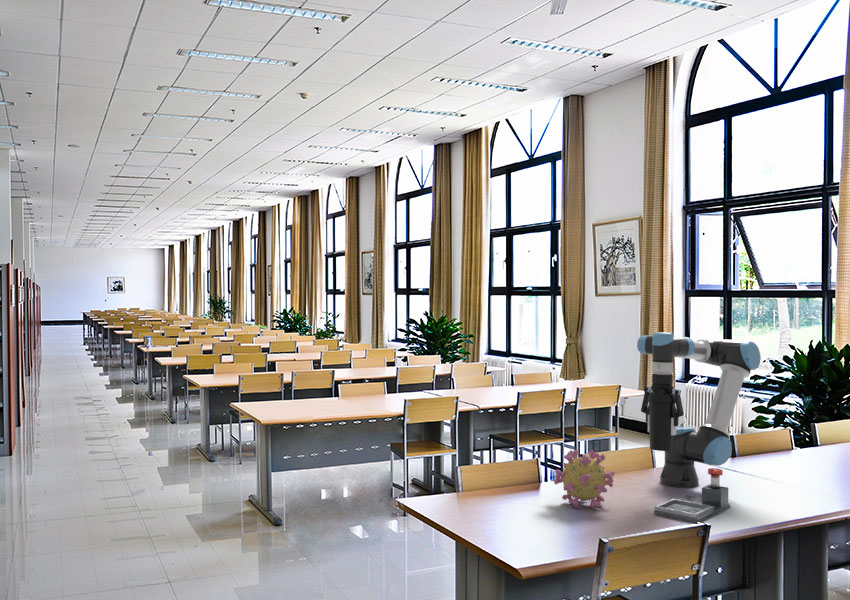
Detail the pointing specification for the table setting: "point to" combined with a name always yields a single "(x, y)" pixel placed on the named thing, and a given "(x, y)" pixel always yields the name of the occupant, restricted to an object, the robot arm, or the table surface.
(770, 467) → the table surface
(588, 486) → the educational model
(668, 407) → the water bottle
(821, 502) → the table surface
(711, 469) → the pin
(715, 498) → the press
